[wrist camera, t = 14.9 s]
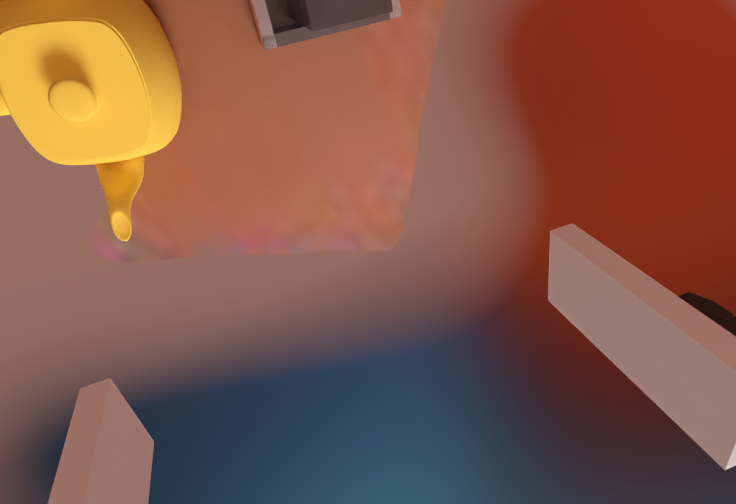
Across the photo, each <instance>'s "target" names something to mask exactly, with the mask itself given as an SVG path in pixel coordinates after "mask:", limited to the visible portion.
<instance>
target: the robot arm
mask: <svg viewBox="0 0 736 504" xmlns="http://www.w3.org/2000/svg"><path fill="white" fill-rule="evenodd" d="M548 300H549V302H551V303H552V304H553V305H554V306H555V307H556V308H557V309H558V310H559V311H560V312H561V313H562V314H563V315H564V316H565V317H566V318H567V319H568V320H569V321H570V322H571V323H573V324H574V326H575V327H577V328H578V329H579V330H580V331H581V332H582V333H583V334H584V335H585V336H586V337H587V338H588V339H589V340H590V341H591V342H592V343H593V344H594V345H595V346H596V347H598V348H599V350H601V351H602V352H603V353H604V354H605V355H606V356H607V357H608V358H609V359H610V360H611V361H612V362H613V363H614V364H615V365H616V366H617V367H618V368H619V369H620V370H621V371H622V372H624V373H625V374H626V376H628V377H629V378H630V379H631V380H632V381H633V382H634V383H635V384H636V385H637V386H638V387H639V388H640V389H641V390H642V391H643V392H644V393H645V394H646V395H647V396H648V397H649V398H650V399H652V401H654V402H655V403H656V404H657V405H658V406H659V407H660V408H661V409H662V410H663V411H664V412H665V413H666V414H667V415H668V416H669V417H670V418H671V419H672V420H673V421H675V423H676V424H677V425H679V426H680V427H681V428H682V429H683V430H684V431H685V432H686V433H687V434H688V435H689V436H690V437H691V438H692V439H693V440H694V441H695V442H696V443H697V444H698V445H699V446H700V447H701V448H703V450H705V451H706V452H707V453H708V454H709V455H710V456H711V457H712V458H713V459H714V460H715V461H716V462H717V463H718V464H719V465H720V466H721V467H722V468H723V469H724V470H726V469H729V468H731V467H733V466H735V465H736V317H734V316H733V314H732V313H731V312H729V311H728V310H726V309H724V308H723V307H721V306H720V305H718V304H717V303H715V302H714V301H712V300H709V299H706V298H703V297H701V296H698V295H695V294H693V293H690V292H688V293H686V294H683V295H680V296H676V295H675V294H673V293H672V292H671V291H669V290H668V289H666V288H665V287H664V286H662V285H660V284H659V283H658V282H656V281H655V280H653V279H652V278H650V277H649V276H648V275H646V274H645V273H643V272H642V271H640V270H639V269H637V268H636V267H634V266H633V265H632V264H630V263H629V262H627V261H626V260H624V259H623V258H622V257H620V256H619V255H617V254H616V253H614V252H613V251H612V250H610V249H609V248H607V247H606V246H604V245H603V244H601V243H600V242H599V241H597V240H596V239H594V238H593V237H591V236H590V235H588V234H587V233H585V232H584V231H583V230H581V229H580V228H578V227H577V226H575V225H574V224H569V225H566V226H563V227H560V228H557V229H554V230H552V231H550V255H549V286H548ZM153 445H154V441H153V439H152V438H151V437H150V435H149V434H148V432H147V431H146V429H145V428H144V427H143V425H142V424H141V422H140V421H139V420H138V418H137V416H136V415H135V413H134V412H133V411H132V409H131V408H130V406H129V405H128V403H127V402H126V400H125V399H124V397H123V396H122V395H121V393H120V392H119V390H118V389H117V388H116V386H115V385H114V383H113V382H112V380H111V379H110V378H109V379H106V380H103V381H100V382H98V383H94V384H91V385H88V386H86V387H83V388H80V392H79V395H78V398H77V402H76V405H75V409H74V413H73V416H72V420H71V423H70V427H69V430H68V434H67V438H66V441H65V445H64V448H63V452H62V455H61V459H60V463H59V466H58V470H57V474H56V477H55V480H54V484H53V487H52V491H51V495H50V498H49V502H48V504H148V498H149V488H150V477H151V466H152V456H153Z"/></svg>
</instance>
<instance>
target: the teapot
mask: <svg viewBox="0 0 736 504" xmlns="http://www.w3.org/2000/svg"><path fill="white" fill-rule="evenodd" d="M181 110H182V90H181V82H180V75H179V71H178V66H177V63H176V60H175V56H174V53H173V51H172V48H171V46H170V43H169V41H168V39H167V37H166V35H165V33H164V31H163V29H162V27H161V25H160V23H159V22H158V20H157V18H156V17H155V15H154V14H153V12H152V11H151V9H150V8H149V7H148V5H147V4H146V3H145V2H144V1H143V0H0V116H2V115H11V116H12V118H13V120H14V121H15V123H16V124H17V126H18V127H19V129H20V130H21V132H22V133H23V135H24V136H25V137H26V139H27V140H28V141H29V143H30V144H31V145H32V146H33V147H34V148H35V149H36V150H37V151H38V152H39V153H40V154H41V155H42V156H44V157H45V158H47V159H48V160H50V161H53V162H55V163H59V164H65V165H88V164H95V166H96V169H97V172H98V175H99V178H100V181H101V184H102V187H103V190H104V193H105V196H106V200H107V205H108V211H109V217H110V222H111V226H112V229H113V231H114V233H115V235H116V236H117V237H118V238H119V239H120V240H121V241H127V240H128V239H129V238H130V236H131V230H132V229H131V216H130V209H131V204H132V201H133V198H134V196H135V194H136V192H137V190H138V189H139V187H140V185H141V182H142V179H143V174H144V155H147V154H150V153H153V152H156V151H158V150H160V149H162V148H163V147H165V146H166V145H167V144H168V143H169V142H170V141H171V140H172V139H173V137H174V136H175V134H176V133H177V130H178V127H179V124H180V118H181Z"/></svg>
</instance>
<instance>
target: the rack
mask: <svg viewBox="0 0 736 504" xmlns="http://www.w3.org/2000/svg"><path fill="white" fill-rule="evenodd" d="M248 1H249V5H250V8H251V12H252V15H253V19H254V22H255V26H256V29H257V33H258V36H259V40H260V43H261V45H262V46H263V47H264V49H265V50H267V49H271V48H276V47H280V46H284V45H288V44H292V43H296V42H300V41H304V40H308V39H312V38H316V37H320V36H324V35H328V34H332V33H336V32H340V31H344V30H348V29H352V28H356V27H360V26H364V25H368V24H372V23H376V22H380V21H384V20H388V19H392V18H397V17H401V9H400V2H399V0H248Z"/></svg>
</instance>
